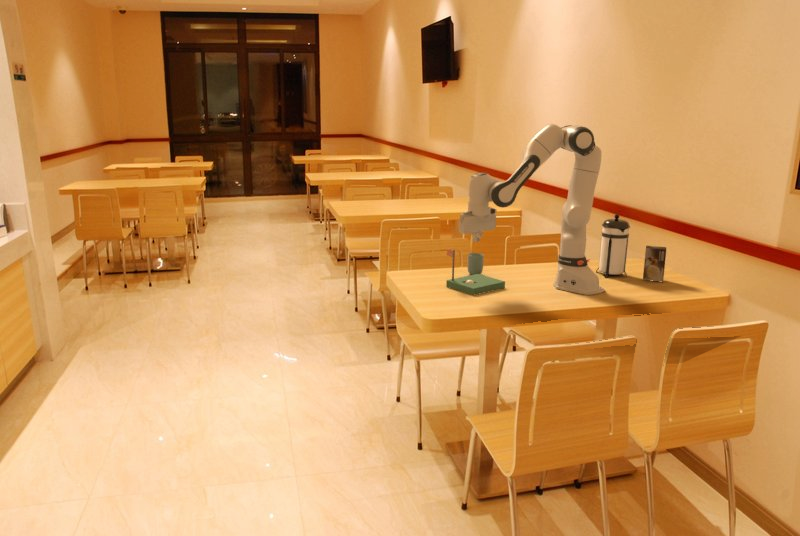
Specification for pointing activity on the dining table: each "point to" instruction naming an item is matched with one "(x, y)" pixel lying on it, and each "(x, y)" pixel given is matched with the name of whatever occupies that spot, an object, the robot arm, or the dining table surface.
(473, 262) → the cup
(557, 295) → the dining table surface
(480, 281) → the putting green
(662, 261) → the coffee box
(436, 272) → the dining table surface
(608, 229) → the coffee press
